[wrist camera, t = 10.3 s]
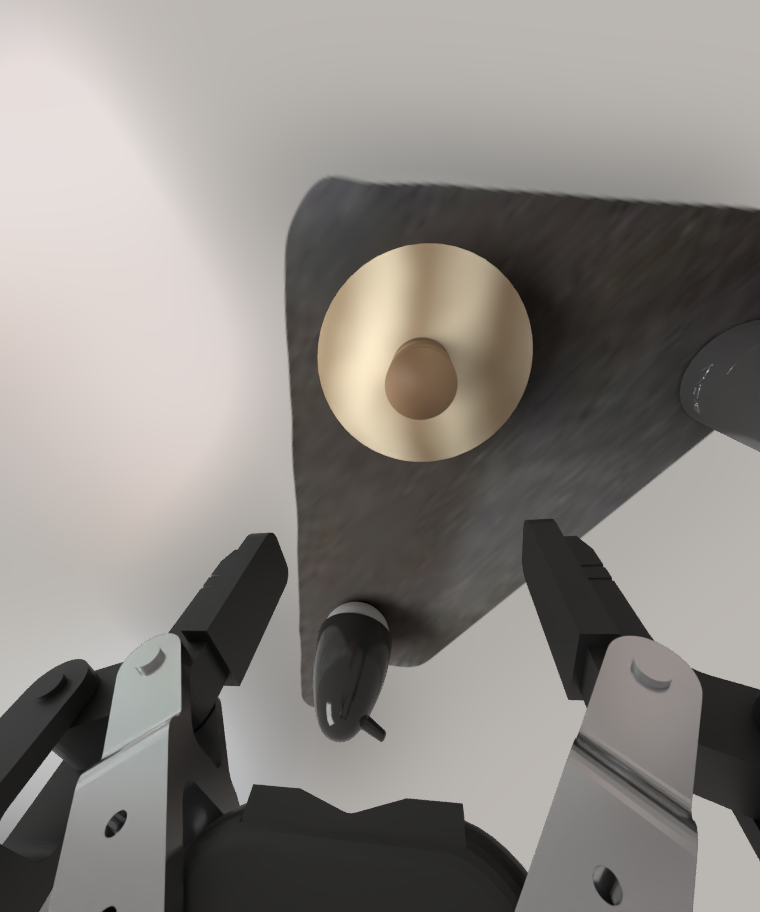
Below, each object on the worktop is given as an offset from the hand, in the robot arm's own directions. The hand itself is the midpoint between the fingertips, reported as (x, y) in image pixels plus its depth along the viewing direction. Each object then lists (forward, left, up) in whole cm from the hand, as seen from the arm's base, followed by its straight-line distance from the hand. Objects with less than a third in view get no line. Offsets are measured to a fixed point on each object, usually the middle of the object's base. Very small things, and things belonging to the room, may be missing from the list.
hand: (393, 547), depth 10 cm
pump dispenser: (+12, +34, -24) cm, 43 cm away
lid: (-1, -2, -18) cm, 18 cm away
